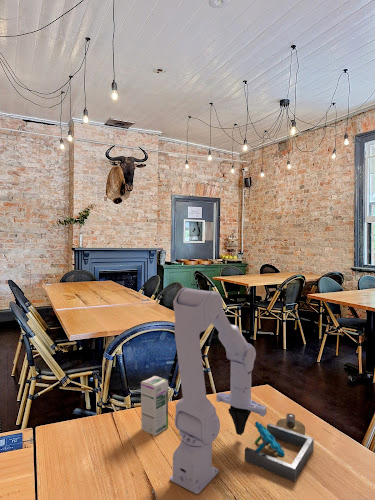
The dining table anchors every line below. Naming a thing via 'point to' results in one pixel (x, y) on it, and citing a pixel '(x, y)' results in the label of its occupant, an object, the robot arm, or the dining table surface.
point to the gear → (267, 439)
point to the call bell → (291, 424)
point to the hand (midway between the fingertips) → (240, 433)
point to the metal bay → (277, 465)
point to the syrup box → (154, 405)
